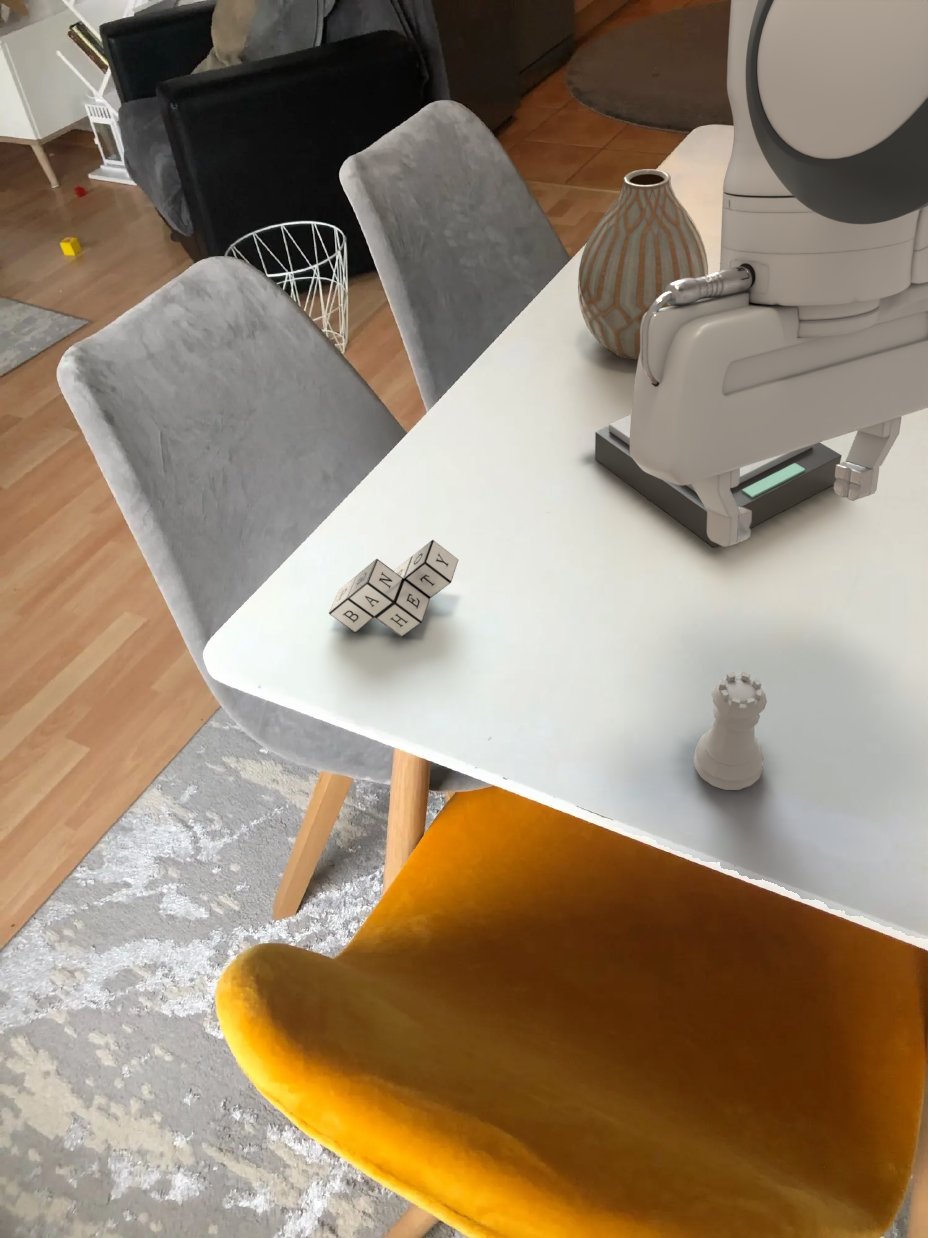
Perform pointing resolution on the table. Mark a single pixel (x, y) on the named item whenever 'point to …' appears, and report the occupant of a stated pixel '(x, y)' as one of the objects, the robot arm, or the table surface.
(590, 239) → the vase
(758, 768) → the rook chess piece
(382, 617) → the building blocks
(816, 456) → the kitchen scale
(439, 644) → the table surface
